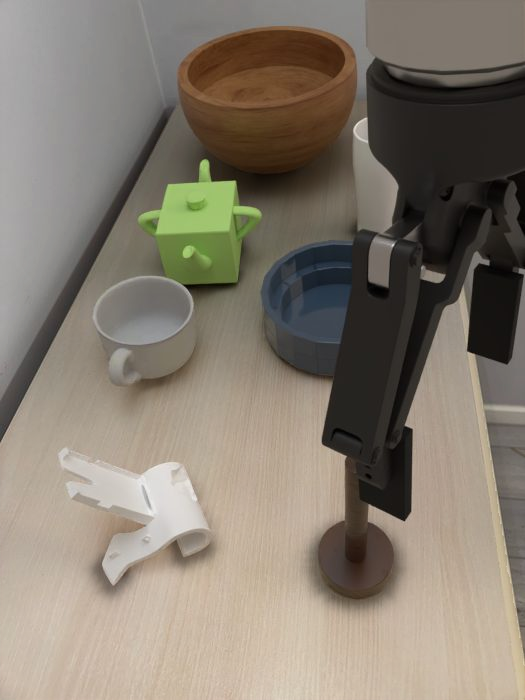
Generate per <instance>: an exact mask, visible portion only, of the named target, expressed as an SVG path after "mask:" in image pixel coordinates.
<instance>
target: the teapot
mask: <svg viewBox="0 0 525 700" xmlns="http://www.w3.org/2000/svg"><path fill="white" fill-rule="evenodd" d="M262 215H263V214H262V212H261V210H260V209H258V208H256V207H253V206H247V205H245V206H244V205H240V199H239V192H238V186H237V180H221V181H212V178H211V173H210V161H209V160H208V159H206V158H205V159H202V160H201V161H200V163H199V168H198V182H186V183H168V184H167V185H166V190H165V193H164V197H163V202H162V205H161V209H155V210H150V211H147V212H144V213H142V214H141V215H139V217H138V218H137V224H138V226H139V227H140V228H141V230H143V231H144V232H145V233H146V234H148V235H150V236H151V237H153V238H155V239H156V244H157V247H158V251H159V256H160V259H161V263H162V267H163V270H164V276H165V277H166V278H169V279H172V280H174V281H176V282H178V283H180V284H181V285H200V284H201V285H204V284H205V285H206V284H207V285H208V284H230V283H231V284H232V283H233V284H234V283H238V280H239V272H240V262H241V253H242V244H243V239H244V238H245V237H246V236H247V235H249V234H250V233H251V232H253V231H254V230H255V229H256V228H257V227H258V225H259V224H260V223H261V221H262V218H263V216H262ZM242 217H247V219H246V221H245V223H244V225H243V222H242ZM156 220H158V221H157V225H156V224H155V223H154V222H153V221H156Z"/></svg>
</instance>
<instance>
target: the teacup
mask: <svg viewBox="0 0 525 700" xmlns="http://www.w3.org/2000/svg"><path fill="white" fill-rule="evenodd" d="M194 310H195V304H194V298H193V296H192V293H190V291H189V290H188V288H187V287H186V286H184V284H182V285H181V284H180V283H178V282H176V281H174V280H172V279H169V278H166V276H162V275H141V276H140V275H139V276H135V277H130V278H127V279H124V280H122V281H119V282H118V283H115V284H114V285H112V286H111V287H109V288H107V290H105V291H104V292H103V293H102V294H101V295H100V296H99V297H98V299H97V300H96V302H95V303H94V307H93V310H92V315H91V316H92V317H91V319H92V322H93V326H94V328H95V330H96V332H97V334H98V338H99V341H100V343H101V346H102V350H103V351H104V353H105V356H106V358H107V360H108V361H109V362H108V369H107V370H108V371H107V374H108V379H109V381H110V383H111V384H112V385H114V386H116V387H119V388H120V387H121V388H127V387H130V386H131V385H133V384H134V383H137V382H138V383H139V382H140V381H141V380H148V379H150V380H151V379H158V378H161V377H165V376H168V375H171V374H172V373H174V372H176V371H178V370H179V369H180V368H181V367H183V366H184V365H185V364H186V363H187V362H188V360H189V359H190V357H191V356H192V354H193V352H194V349H195V347H196V341H197V330H196V329H197V328H196V319H195V318H196V317H195V311H194Z"/></svg>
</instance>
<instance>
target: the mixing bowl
mask: <svg viewBox="0 0 525 700" xmlns="http://www.w3.org/2000/svg"><path fill="white" fill-rule="evenodd" d="M353 241H354V240H344V239H343V240H340V239H330V240H326V241H324V240H323V241H319V242H313V243H308V244H305V245H303V246H301V247H298V248H295V249H293V250H290V251H289V252H288V253H286V254H285V255H284V256H282V257H280V258H279V259H278V260H276V261H275V262H274V263H273V264H272V266H271V267H270V268H269V270H268V271H267V272H266V274H265V275H264V276H263V280H262V284H261V289H260V300H261V309H262V316H263V317H262V318H263V323H264V328H265V335H266V338H267V342H268V343H269V344H270V346H271V348H272V349H273V350H274V351H275V353H276V354H277V356H278V357H280V358H281V359H282V360H284V361H285V362H287V363H288V364H290V365H292V367H294V368H296V369H299V370H302V371H305V372H307V373H311V374H315V375H317V376H318V375H320V376H331V377H334V373H335V368H336V363H337V358H338V352H339V347H340V342H341V337H342V332H343V327H344V322H345V317H346V312H347V307H348V302H349V297H350V292H351V281H352V245H353Z"/></svg>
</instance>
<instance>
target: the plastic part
mask: <svg viewBox="0 0 525 700" xmlns="http://www.w3.org/2000/svg"><path fill="white" fill-rule="evenodd" d="M57 457H58V460H59V465H60V468H61V469H62V471H64V472H65V473H67V474H70V475H72V476H74V477H76V478H79V479H81V480H83V481H85V482H87V483H83V482H79V481H73V480H69V481H68V480H67V482H66V483H65V487H66V489H67V491H68V495H69V499H70V500H72V501H74V502H78V503H80V504H83V505H85V506H88V507H91V508H94V509H97V510H100V511H103V512H106V513H109V514H112V515H114V516H118V517H121V518H123V519H127V520H129V521H132V522H135V523H139V524H142V525H144V526H143V527H141V528H139V529H137V530H135V531H132V532H117V533H115V534H114V535H113V537H112V538H111V541H110V542H109V545H108V547H107V550H106V552H105V555H104V557H103V560H102V563H101V566H102V569H103V572H104V574H105V575H106V577H107V579H108V581H109V582H110V585H111V586H113V587H114V586H115V585H116V584H117V583H118V582H119V581H120V579H121V578H122V577H123V575H124V574H125V573H126V572H127V570H128V569H129V568H131V567H132V566H134V565H136V564H138V563H140V562H143V561H145V560H149V559H150V558H153V557H154V556H156V555H157V554H159V553H161V552H162V551H163V550H165V549H167V547H168V546H170V545H171V544H172V543H174V542H175V541H176V542H177V545H178V547H179V550H180V553H181V555H182V557H183V558H186V557H189V556H191V555H194V554H196V553H198V552H200V551H202V550H204V549H205V548H206V547H208V545H209V544H210V543H211V542H212V539H213V533H212V531H211V528H210V526H209V524H208V521H207V519H206V516H205V514H204V511H203V508H202V507H201V503H200V502H199V500H198V497H197V495H196V493H195V491H194V487H193V485H192V481H191V479H190V476H189V474H188V472H187V470H186V466H185V465H184V464H182V463H180V462H177V461H168V462H162V463H160V464H157V465H155V466H152V467H151V468H149V469H147V470H146V471H144V472H142V474H138V473H135V472H132V471H130V470H128V469H125V468H121V467H118V466H115V465H114V464H111V463H107V462H105V461H103V460H99V459H97V460H95V462H90V460H91V458H92V457H90V456H88V455H85V454H83V453H79V452H76V451H73V450H70V449H69V448H68V447H67V446H64V447H63V448H62V450H60V451H59V452H58V453H57ZM88 483H89V484H88Z"/></svg>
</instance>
